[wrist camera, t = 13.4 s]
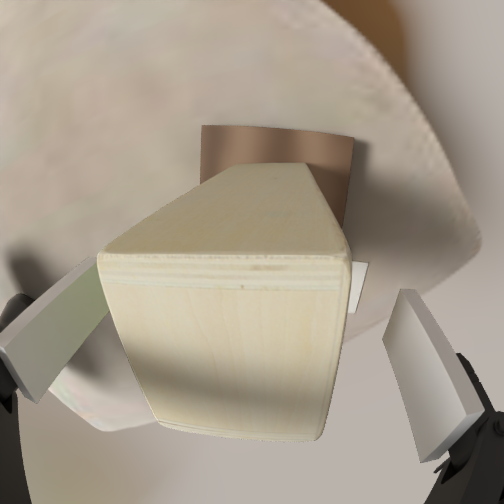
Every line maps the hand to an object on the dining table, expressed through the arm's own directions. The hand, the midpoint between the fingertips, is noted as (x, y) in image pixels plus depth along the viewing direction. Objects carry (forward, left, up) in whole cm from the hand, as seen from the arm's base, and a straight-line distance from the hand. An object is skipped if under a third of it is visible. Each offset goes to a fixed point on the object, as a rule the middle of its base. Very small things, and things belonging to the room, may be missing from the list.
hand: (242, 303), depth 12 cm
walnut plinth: (0, 0, -20) cm, 20 cm away
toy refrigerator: (0, 0, -17) cm, 17 cm away
